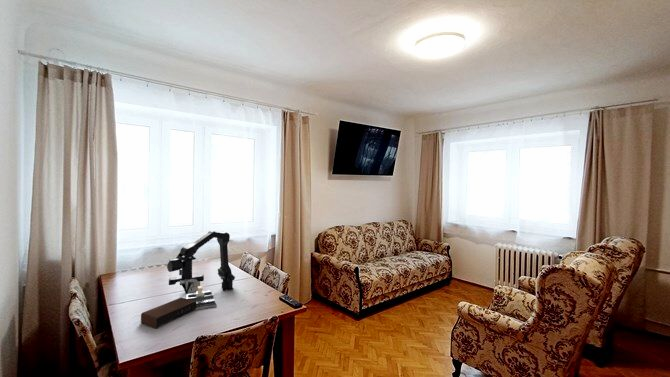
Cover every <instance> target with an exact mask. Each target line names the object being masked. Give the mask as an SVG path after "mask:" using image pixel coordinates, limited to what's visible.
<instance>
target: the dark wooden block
mask: <svg viewBox="0 0 670 377" xmlns="http://www.w3.org/2000/svg"><path fill="white" fill-rule="evenodd" d="M185 298H186V297H185ZM185 298H184V297H179V298H177V299H174V300H172V301H168V302H167V303H164V304H161V305H158V306H156V307H154V308H153V307H152V308H150V309H148V310H146V311H144V312H141V314H140V324H141V325H144V326H146V327H150V328H152V329H155V330H157V329H159V328H160V327H163V326H165V325H168V324H170V323H171V322H174V321H176V320H179V319H180V318H182V317H184V316H187V315H188V314H191V313H193V312H195V311H196V310H195V308H196V307H197V302H196V301H193V300H189V299H185Z"/></svg>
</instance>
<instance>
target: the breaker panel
mask: <svg viewBox="0 0 670 377" xmlns="http://www.w3.org/2000/svg"><path fill="white" fill-rule="evenodd" d="M215 298H216V297H215V293H214V290H213V289H211V290H206V291H205V290H204V296H198V297H196V292H192V293H188V294H186V293H185V299H189V300H193V301H196V302H197V306H200V305H206V304H213V303H216V299H215Z"/></svg>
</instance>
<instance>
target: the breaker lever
mask: <svg viewBox="0 0 670 377" xmlns="http://www.w3.org/2000/svg"><path fill="white" fill-rule="evenodd" d="M204 291H205V290H203V285H200V286H198V291H196V292H195V293H196V297H198V296H204Z"/></svg>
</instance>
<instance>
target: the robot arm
mask: <svg viewBox="0 0 670 377" xmlns="http://www.w3.org/2000/svg"><path fill="white" fill-rule="evenodd" d="M230 237H231V235H230V233H228V232H225V231H219V232H218V231H213V230H209V231H207V233H206V234H204V235H203V236H200V238H199V239H197V240H196V241H194V242H193V243H190V244H186V245H185V246H183V247H181V249H180V251H179V253H178V254H177V255H176V257H175V258H174V259H173V258H172V259H169V260H168V261H169V262H168V263H167V265H166V267H167V272H169V273H172V272H177V271H178V275H179V276H181V277H180V278H178V277H177V276H174V277H170V278H169V279H168V286H173V285H176V284H177V283H179V286H181V287H182V288H183V290H184V293H185V295H186V294H187V293H188V290H189V288H190V286H191V284H193V281H194V280H197V281H198V282H200V283H201V282H204V281H205V275H204V274H203V273H202V274H196V276H193V261H194V260H196V259H197V257H195V256H194V255H195V254H196V253H198V251H199V249H200V248H201V247H203V246H204V245H206V244H207V243H208V242H210V241H211V240H212V239H214V238H215V239H216V241H217V243H218V245H219V253H220V254H219V255H220V267H219V268H217V275H218V277H220V279H221V280H222V281H221V290H222V291H231V290H234V287H233V283H234V282H233V281H235V278H236V276H234V274H233V273H232V268H231V267H230V266H229V251H228V250H229V248H228V246H229V242H230ZM186 281H188V285H187V289H186ZM188 294H189V293H188Z"/></svg>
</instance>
